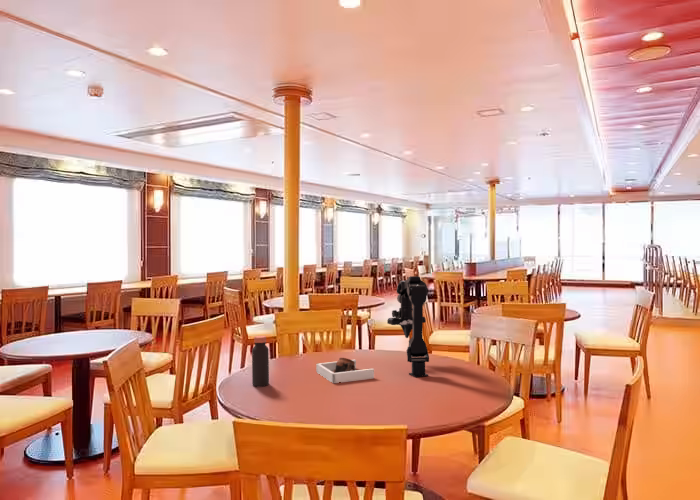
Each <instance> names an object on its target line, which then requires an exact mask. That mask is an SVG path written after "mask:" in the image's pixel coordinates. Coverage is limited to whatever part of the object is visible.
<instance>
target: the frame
mask: <svg viewBox="0 0 700 500" xmlns="http://www.w3.org/2000/svg"><path fill="white" fill-rule="evenodd" d="M351 360H352V361H354V362H355V364H354V365H355V371H353V370H350V371H347V372H338V373H334V370H335V369H336V363H337V362H338V361H339V360H338V361H331V362H330V361H329V362H320V363H316V364H315V365H316V366H315V368H316V369H315V370H316V372H317V373H316V374H318V375H319V374H320V376H321V377H322V376H323V377H322V378H324V379H325V378H326V379H325V380H327V381H328V382H330V383H331V382H332V383H331V384H339V382H341V383H347V382H355V381H364V380H371V379H373V380H374V379H375V368H367V369H358V370H356V369H357V360H356V359H351Z"/></svg>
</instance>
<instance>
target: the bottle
mask: <svg viewBox="0 0 700 500" xmlns="http://www.w3.org/2000/svg"><path fill="white" fill-rule="evenodd" d="M253 338H254V339H253V341H254V346H253V347H252V350H251V369H252V370H251V374H252V375H251V378H252V379H251V382H252V386H253V385H254V386H253V387H257V386H262V387H265V386H264V385H267V384H268V385H269V384H270V371H269V370H270V367H269V366H270V364H269V363H270V361H269V358H270V354H269V353H270V352H269V350H270V349H269V347H268V346H267V345H266V343H267V336H266V335H256V336H254V337H253ZM268 385H267V386H268Z"/></svg>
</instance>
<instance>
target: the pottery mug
mask: <svg viewBox="0 0 700 500" xmlns="http://www.w3.org/2000/svg"><path fill="white" fill-rule="evenodd" d="M352 360H353V359H350V358H346V357H339V359H338V362H337V361H336V362H337V363H336V369H335V370H334V371H333V373H338V372H347V371H355V370H356V369H355V365H354V364H355V362H354V361H352Z"/></svg>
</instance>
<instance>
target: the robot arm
mask: <svg viewBox="0 0 700 500" xmlns="http://www.w3.org/2000/svg"><path fill="white" fill-rule="evenodd" d="M395 292H396V294H397V297H396V300H397V302H398V303H400V307H399V310H398V311H397V309H395V310H392V311H391V316H392V317H388V318H387V324H388V325H392V326H400V327H401V329H402V331H403V334H404V337H405V338H406V339H408V338H409V337H410V334H412V337H411V338H409V340H408V346H407V349H406V357H407V363H410V364H411V372H408V375H410V376H412V377H414V378H421V377H429V374H428V373H426V363H429V362H430V356H429V351H428V346H427V344H426V342H425V340H424V338H423V327H424V326H423V324H424V323H427V319H426V317H425V316H423V315H424V314H423V313H424V312H423V311H424V308H423V306H424V304H425V303H426V301H427V300H428V299H427V298H428V297H427V296H428V294H429V290H428V286H427V283H426V282H425V281H423V280H422V279H421V276H419V275H413V276H412V275H411V276H410V275H409V276H408V278H406V279H405V280H399V283H398V284H397V287H396V291H395Z"/></svg>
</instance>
